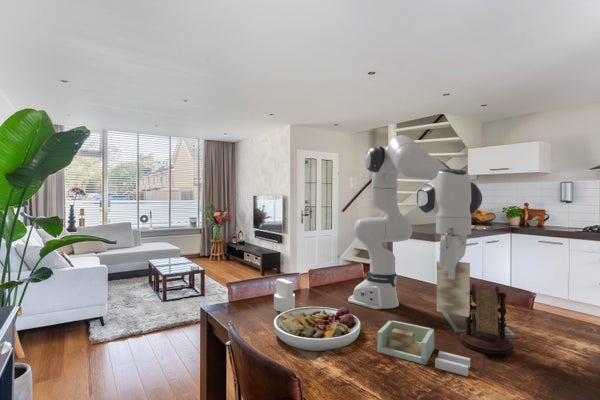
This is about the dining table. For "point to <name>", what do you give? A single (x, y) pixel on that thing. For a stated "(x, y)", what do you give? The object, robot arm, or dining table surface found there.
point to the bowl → (317, 328)
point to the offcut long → (406, 347)
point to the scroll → (487, 323)
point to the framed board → (460, 324)
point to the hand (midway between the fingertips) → (453, 277)
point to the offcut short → (402, 336)
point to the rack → (420, 335)
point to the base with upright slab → (284, 296)
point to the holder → (452, 363)
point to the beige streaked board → (454, 290)
